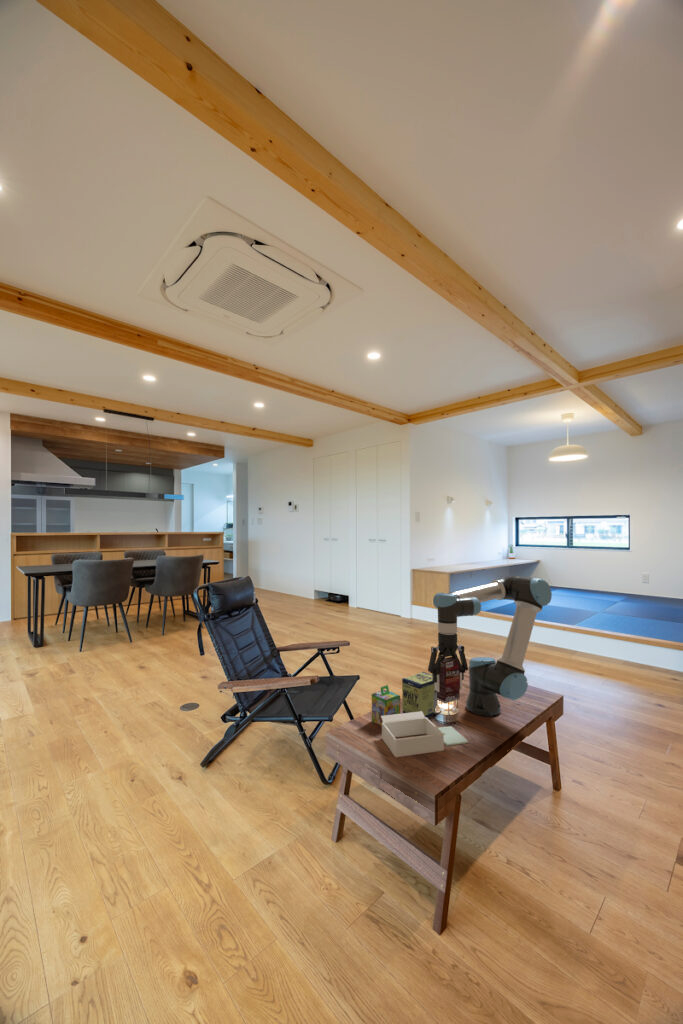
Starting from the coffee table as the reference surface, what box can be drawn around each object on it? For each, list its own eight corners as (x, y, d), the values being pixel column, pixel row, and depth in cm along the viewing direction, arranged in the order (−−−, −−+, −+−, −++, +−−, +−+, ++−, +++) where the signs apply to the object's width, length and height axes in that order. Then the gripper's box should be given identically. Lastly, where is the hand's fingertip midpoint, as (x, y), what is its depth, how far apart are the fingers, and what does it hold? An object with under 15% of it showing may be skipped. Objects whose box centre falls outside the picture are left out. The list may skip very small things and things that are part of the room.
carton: (423, 729, 165) (423, 710, 166) (447, 754, 146) (447, 733, 147) (379, 734, 161) (379, 715, 161) (398, 761, 141) (398, 739, 142)
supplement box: (445, 704, 156) (445, 662, 157) (436, 700, 160) (436, 659, 161) (460, 699, 161) (460, 659, 162) (451, 695, 165) (450, 656, 166)
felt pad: (451, 727, 167) (451, 726, 167) (468, 743, 154) (468, 741, 154) (431, 730, 165) (431, 728, 165) (447, 745, 152) (447, 744, 152)
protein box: (401, 713, 180) (401, 678, 181) (423, 704, 190) (423, 671, 191) (420, 721, 172) (419, 684, 173) (442, 711, 182) (441, 676, 183)
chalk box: (386, 729, 166) (386, 692, 167) (370, 721, 173) (370, 686, 174) (401, 722, 171) (401, 687, 172) (385, 715, 178) (385, 681, 179)
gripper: (466, 629, 169) (467, 683, 167) (418, 631, 163) (419, 688, 162) (476, 633, 161) (478, 690, 160) (426, 636, 156) (427, 695, 154)
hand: (448, 689), depth 161 cm, fingers closed on supplement box, 9 cm apart
